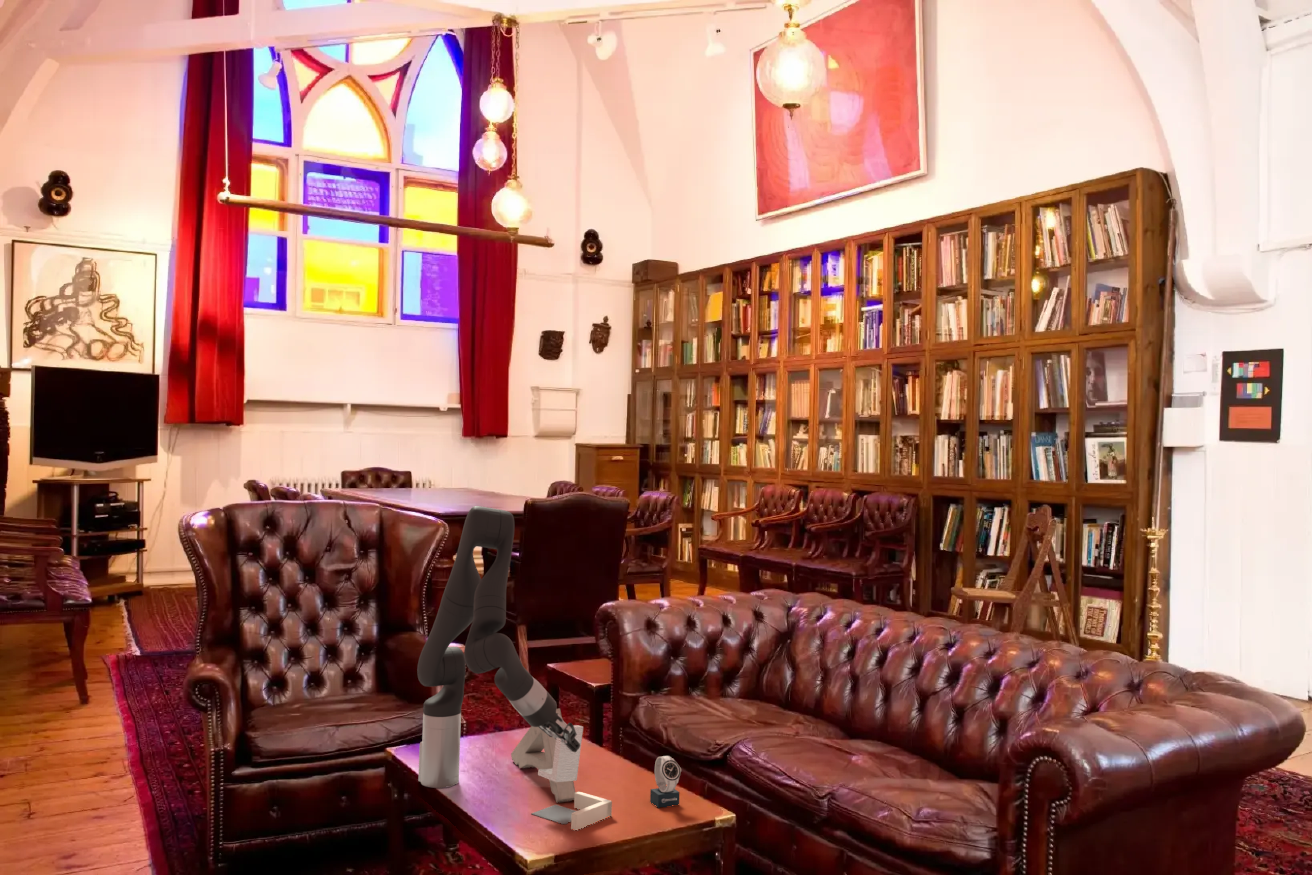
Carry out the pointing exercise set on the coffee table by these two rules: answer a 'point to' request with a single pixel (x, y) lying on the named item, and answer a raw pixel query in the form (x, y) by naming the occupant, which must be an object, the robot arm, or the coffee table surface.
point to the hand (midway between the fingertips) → (573, 747)
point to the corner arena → (589, 810)
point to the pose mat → (556, 814)
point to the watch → (665, 782)
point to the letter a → (542, 759)
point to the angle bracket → (564, 761)
